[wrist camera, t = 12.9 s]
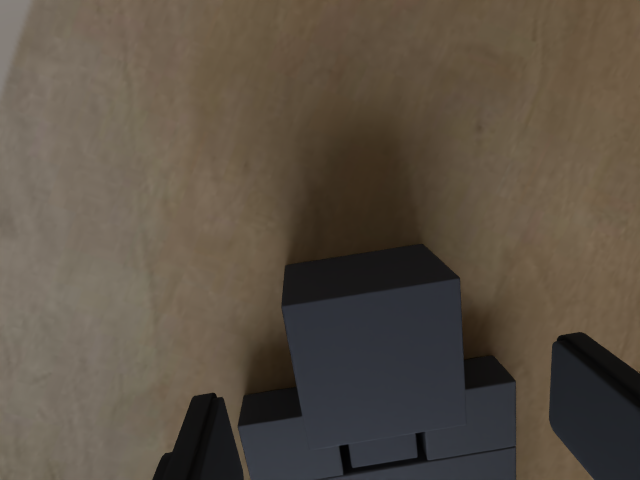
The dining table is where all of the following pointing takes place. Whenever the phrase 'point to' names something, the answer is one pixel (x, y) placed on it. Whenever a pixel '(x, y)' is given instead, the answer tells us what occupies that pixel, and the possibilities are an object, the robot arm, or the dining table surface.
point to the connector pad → (376, 350)
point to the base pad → (397, 476)
